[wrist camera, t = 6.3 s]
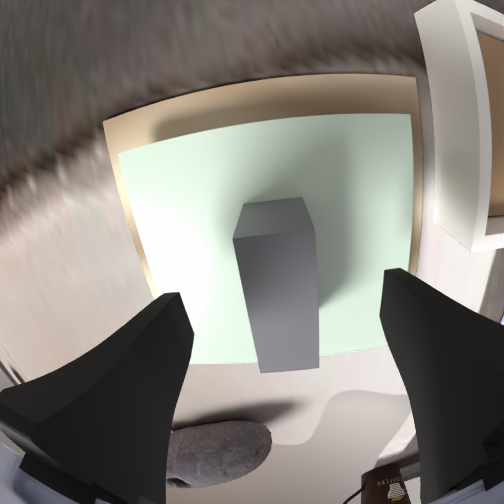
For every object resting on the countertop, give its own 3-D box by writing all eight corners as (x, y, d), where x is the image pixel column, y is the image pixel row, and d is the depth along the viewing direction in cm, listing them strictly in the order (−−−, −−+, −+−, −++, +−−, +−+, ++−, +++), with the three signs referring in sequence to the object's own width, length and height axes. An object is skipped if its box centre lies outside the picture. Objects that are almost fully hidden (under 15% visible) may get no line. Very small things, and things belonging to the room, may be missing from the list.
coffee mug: (412, 462, 31) (422, 508, 22) (373, 480, 34) (378, 523, 25) (376, 458, 28) (385, 516, 19) (332, 477, 32) (335, 529, 23)
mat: (402, 331, 17) (404, 333, 17) (179, 353, 19) (178, 356, 19) (412, 77, 10) (415, 77, 10) (105, 121, 12) (102, 121, 12)
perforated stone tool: (256, 400, 21) (251, 473, 15) (287, 423, 23) (287, 487, 17) (147, 425, 26) (131, 475, 20) (179, 445, 28) (168, 492, 21)
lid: (384, 321, 16) (412, 389, 11) (195, 339, 18) (174, 409, 13) (390, 114, 11) (458, 117, 6) (138, 147, 13) (68, 170, 8)
